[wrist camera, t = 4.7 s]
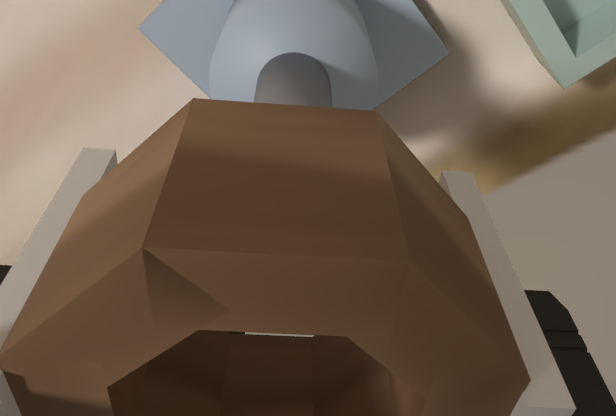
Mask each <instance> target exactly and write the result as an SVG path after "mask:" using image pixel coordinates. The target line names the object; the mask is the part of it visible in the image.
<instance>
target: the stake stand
mask: <svg viewBox="0 0 616 416" xmlns="http://www.w3.org/2000/svg"><path fill="white" fill-rule="evenodd" d="M138 29H139V30H140V31H141V32H142V33H143V34H144V35H145V36H146V37H147V38H148V39H149V40H150V41H151V42H152V43H153V44H154V45H155V46H156V47H157V48H158V49H159V50H160V51H161V52H162V53H163V54H165V55H166V56H167V57H168V58H169V59H170V60H171V61H172V62H173V63H174V64H175V65H176V66H177V67H178V68H179V69H180V70H181V71H182V72H183V73H184V74H185V75H186V76H187V77H188V78H189V79H191V80H192V81H193V82H194V83H195V84H196V85H197V86H198V87H199V88H200V89H201V90H202V91H203V92H204V93H205V94H206V95H207V96H208V97H209V98H210V99H212V100H227V101H241V102H256V103H270V104H285V105H299V106H314V107H328V108H343V109H357V110H372V111H373V109H375V108H376V107H377V106H379V105H380V104H382V103H383V102H384V101H386V100H387V99H388V98H390V97H391V96H393V95H394V94H395V93H397V92H398V91H399V90H401V89H402V88H404V87H405V86H406V85H408V84H409V83H410V82H412V81H413V80H414V79H416V78H417V77H419V76H420V75H421V74H423V73H424V72H425V71H427V70H428V69H430V68H431V67H432V66H434V65H435V64H436V63H438V62H439V61H441V60H442V59H443V58H445V57H446V56H447V55H449V54H450V53H449V51H448V49H447V48H446V46H445V44H444V43H443V42H442V40H441V39H440V37H439V36H438V35H437V33H436V32H435V30H434V29H433V28H432V26H431V25H430V23H429V22H428V21H427V19H426V18H425V16H424V15H423V13H422V12H421V11H420V9H419V8H418V6H417V5H416V4H415V2H414V1H413V0H164V1H163V2H162V3H161V4H160V5H159V6H158V7H157V8H156V9H155V10H154V11H153V12H152V13H151V14H150V15H149V16H148V17H147V18H146V19H145V20H144V21H143V23H142V24H141V25H140V27H139V28H138Z"/></svg>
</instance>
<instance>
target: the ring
mask: <svg viewBox="0 0 616 416" xmlns="http://www.w3.org/2000/svg"><path fill="white" fill-rule="evenodd" d="M227 331H236V332H259V333H282V334H303V335H315V336H313V337H295V336H270V335H249V334H230V333H229V332H227ZM0 370H1V371H3V374H4V376H5V378H6V381H7V383H8V385H9V388H10V390H11V392H12V394H13V397H14V399H15V401H16V404H17V406H18V408H19V411H20V413H21V415H22V416H510V414H511V413H512V411H513V409H514V407H515V405H516V404H517V402H518V400H519V398H520V396H521V395H522V393H523V391H525V390H526V388H527V386H528V384H529V383H530V381H531V379H530V376H529V374H528V371H527V369H526V366H525V364H524V361H523V358H522V356H521V353H520V351H519V348H518V345H517V343H516V340H515V338H514V335H513V333H512V330H511V327H510V325H509V322H508V320H507V317H506V315H505V312H504V309H503V307H502V304H501V302H500V299H499V296H498V294H497V291H496V289H495V286H494V284H493V281H492V278H491V276H490V273H489V271H488V268H487V266H486V263H485V260H484V258H483V255H482V253H481V250H480V248H479V245H478V242H477V240H476V237H475V235H474V232H473V229H472V227H471V224H470V222H469V219H468V217H467V216H466V215H465V214H464V213H463V211H462V210H461V209H460V208H459V207H458V206H457V204H456V203H455V202H454V201H453V200H452V199H451V197H450V196H449V195H448V194H447V193H446V192H445V190H444V189H443V188H442V187H441V186H440V185H439V183H438V182H437V181H436V180H435V179H434V178H433V177H432V175H431V174H430V173H429V172H428V171H427V170H426V168H425V167H424V166H423V165H422V164H421V163H420V161H419V160H418V159H417V158H416V157H415V156H414V154H413V153H412V152H411V151H410V150H409V149H408V148H407V146H406V145H405V144H404V143H403V142H402V141H401V139H400V138H399V137H398V136H397V135H396V134H395V132H394V131H393V130H392V129H391V128H390V127H389V125H388V124H387V123H386V122H385V121H384V120H383V119H382V117H381V116H380V115H379V114H378V113H377V112H376V111H372V110H357V109H343V108H328V107H314V106H299V105H285V104H270V103H256V102H241V101H227V100H212V99H198V98H193V99H192V100H191V101H190V102H189V103H187V104H186V105H185V106H184V107H183V108H182V109H181V110H179V111H178V112H177V113H176V114H175V115H174V116H173V117H171V118H170V119H169V120H168V121H167V122H166V123H165V124H163V125H162V126H161V127H160V128H159V129H158V130H157V131H155V132H154V133H153V134H152V135H151V136H150V137H149V138H148V139H146V140H145V141H144V142H143V143H142V144H141V145H140V146H138V147H137V148H136V149H135V150H134V151H133V152H132V153H130V154H129V155H128V156H127V157H126V158H125V159H124V160H122V161H121V162H120V163H119V164H118V165H117V166H116V167H114V168H113V169H112V170H111V171H110V172H109V173H108V174H106V175H105V176H104V177H103V178H102V179H101V180H100V181H98V182H97V183H96V184H95V185H94V186H93V187H92V188H90V189H89V190H88V191H87V192H86V193H85V194H84V195H83V196H82V198H81V199H80V201H79V203H78V205H77V207H76V209H75V211H74V212H73V214H72V216H71V218H70V220H69V222H68V224H67V226H66V227H65V229H64V231H63V233H62V235H61V237H60V239H59V241H58V242H57V244H56V246H55V248H54V250H53V252H52V254H51V255H50V257H49V259H48V261H47V263H46V265H45V267H44V269H43V270H42V272H41V274H40V276H39V278H38V280H37V282H36V284H35V285H34V287H33V289H32V291H31V293H30V295H29V297H28V298H27V300H26V302H25V304H24V306H23V308H22V310H21V312H20V313H19V315H18V317H17V319H16V321H15V323H14V325H13V327H12V328H11V330H10V332H9V334H8V336H7V338H6V340H5V341H4V343H3V345H2V347H1V349H0Z"/></svg>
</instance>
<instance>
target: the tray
mask: <svg viewBox="0 0 616 416" xmlns="http://www.w3.org/2000/svg"><path fill="white" fill-rule="evenodd" d="M501 2H502V3H503V5H504V7H505V8H506V10H507V12H508V13H509V15H510V16H511V18H512V20H513V21H514V23H515V24H516V26H517V28H518V29H519V31H520V33H521V34H522V36H523V37H524V39H525V41H526V42H527V44H528V45H529V47H530V49H531V50H532V52H533V54H534V55H535V57H536V58H537V60H538V61H539V62H540V64H541V65H542V66H543V67H544V68H545V69H546V70H547V71H548V73H549V74H550V75H551V76H552V77H553V78H554V79H555V80H556V82H557V83H558V84H559V85H560V86H561V87H562V88H563V89H566V88H567V87H569V86H570V85H572V84H573V83H575V82H577V81H578V80H580V79H581V78H583V77H584V76H586V75H588V74H589V73H591V72H592V71H594V70H595V69H597V68H598V67H600V66H602V65H603V64H605V63H606V62H608V61H609V60H611V59H613V58H614V57H616V0H501Z"/></svg>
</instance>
